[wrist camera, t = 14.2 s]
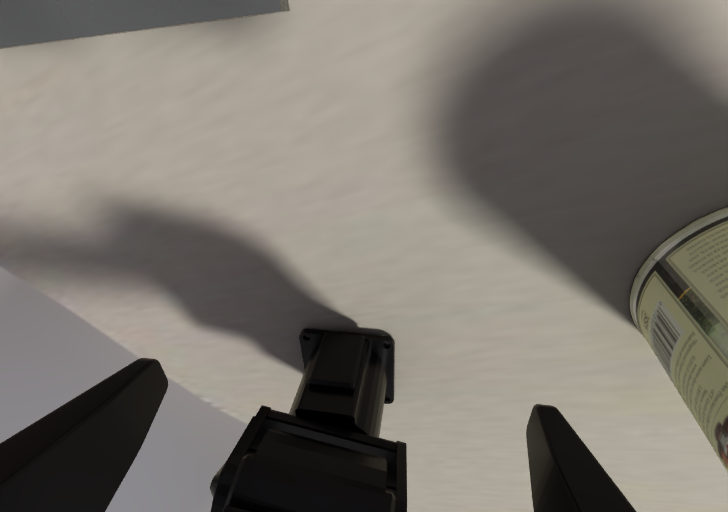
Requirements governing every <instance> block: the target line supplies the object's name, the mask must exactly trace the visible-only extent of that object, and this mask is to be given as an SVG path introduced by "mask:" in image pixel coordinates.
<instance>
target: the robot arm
mask: <svg viewBox="0 0 728 512" xmlns="http://www.w3.org/2000/svg"><path fill="white" fill-rule="evenodd" d="M307 336H309V337H307ZM299 338H300V344H301V349H302V355H303V361H304V367H305V372H304V375H303V377H302V380H301V383H300V385H299V388H298V391H297V393H296V396H295V399H294V401H293V404H292V407H291V409H290V412H289V414H287V413H283V412H279V411H275V410H271V408H270V407H266V406H263V405H262V406H261V408H260V409H259V411H258V413H257V415H256V416H253V418H252V419H251V421H250V423H249V424H248V426H247V428H246V429H245V431H244V433H243V434H242V436H241V438H240V440H239V441H238V443H237V445H236V446H235V448H234V450H233V451H232V453H231V455H230V456H229V458H228V460H227V461H226V463H225V464H224V465H223V466H222V467H221V469H220V470H219V471H218V472H217V474H216V475H215V476H214V478H213V480H212V482H211V486H210V490H211V493H212V495H213V502H212V508H211V512H407V462H406V443H403V442H400V441H397V442H393V441H389V440H386V439H382V438H379V434H380V427H381V420H382V413H383V407H384V403H385V404H390V403H392V402H393V401H394V363H395V342H394V340H393V338H391V337H388V336H378V335H368V334H357V333H346V332H336V331H325V330H315V329H303V330H302V331H301V333H300V337H299ZM385 343H387V344H388V345H387V344H385ZM167 387H168V380H167V377H166V375H165V373H164V371H163V369H162V367H161V365H160V363H159V361H158V360H156V359H149V358H140V359H138V360H136V361H134V362H133V363H131V364H130V365H128V366H126V367H125V368H123V369H121V370H120V371H118V372H116V373H115V374H113V375H112V376H110V377H108V378H107V379H105V380H103V381H102V382H100V383H99V384H97V385H95V386H94V387H92V388H90V389H89V390H87V391H85V392H84V393H82V394H81V395H79V396H77V397H76V398H74V399H72V400H71V401H69V402H67V403H66V404H64V405H63V406H61V407H59V408H58V409H56V410H54V411H53V412H51V413H49V414H48V415H46V416H45V417H43V418H41V419H40V420H38V421H36V422H35V423H33V424H31V425H30V426H28V427H27V428H25V429H24V430H22V431H20V432H18V433H17V434H15V435H13V436H12V437H11V438H9V439H7V440H5V441H4V442H2V443H0V512H105V511H106V509H107V507H108V505H109V504H110V502H111V500H112V498H113V496H114V494H115V492H116V491H117V489H118V488H119V486H120V484H121V482H122V480H123V479H124V477H125V475H126V473H127V472H128V470H129V468H130V466H131V465H132V463H133V461H134V459H135V457H136V456H137V453H138V452H139V450H140V448H141V446H142V444H143V442H144V439H145V438H146V435H147V433H148V431H149V428H150V426H151V424H152V422H153V420H154V417H155V415H156V413H157V411H158V408H159V406H160V404H161V402H162V400H163V397H164V395H165V393H166V390H167ZM526 437H527V448H528V458H529V468H530V478H531V489H532V499H533V508H534V512H636V511H635V509H634V508H633V507H632V505H631V504H630V503H629V501H628V500H627V499H626V498H625V496H624V495H623V494H622V492H621V491H620V490H619V488H618V487H617V486H616V484H615V483H614V482H613V481H612V479H611V478H610V477H609V475H608V474H607V473H606V471H605V470H604V469H603V468H602V466H601V465H600V464H599V462H598V461H597V460H596V458H595V457H594V456H593V455H592V453H591V452H590V451H589V449H588V448H587V447H586V445H585V444H584V443H583V441H582V440H581V439H580V438H579V436H578V435H577V434H576V432H575V431H574V430H573V428H572V427H571V426H570V425H569V423H568V422H567V421H566V419H565V418H564V417H563V415H562V414H561V413H560V412H559V410H558V409H557V408H556V407H554V406H550V405H541V404H536V405H535V406H534V407H533V409H532V412H531V416H530V419H529V422H528V425H527V431H526Z"/></svg>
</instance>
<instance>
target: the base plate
mask: <svg viewBox="0 0 728 512" xmlns="http://www.w3.org/2000/svg"><path fill="white" fill-rule="evenodd" d="M285 11H290V10H289V4H288V0H0V49H2V48H10V47H17V46H25V45H33V44H40V43H48V42H56V41H63V40H71V39H79V38H86V37H94V36H102V35H109V34H117V33H124V32H132V31H140V30H147V29H155V28H163V27H170V26H178V25H186V24H193V23H201V22H209V21H216V20H224V19H232V18H239V17H247V16H255V15H262V14H270V13H278V12H285Z"/></svg>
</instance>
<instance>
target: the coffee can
mask: <svg viewBox="0 0 728 512" xmlns="http://www.w3.org/2000/svg"><path fill="white" fill-rule="evenodd" d="M630 310H631V315H632V318H633V321H634V323H635V325H636V327H637V328H638V330H639V331H640V333H641V334H642V335H643V336H644V337H645V339H646V340H647V342H648V343H649V345H650V347H651V348H652V350H653V351H654V353H655V355H656V356H657V358H658V359H659V361H660V363H661V364H662V366H663V368H664V369H665V371H666V372H667V374H668V376H669V377H670V379H671V381H672V382H673V384H674V386H675V387H676V389H677V390H678V392H679V394H680V395H681V397H682V399H683V400H684V402H685V403H686V405H687V407H688V408H689V410H690V411H691V413H692V415H693V416H694V418H695V419H696V421H697V423H698V424H699V426H700V427H701V429H702V431H703V432H704V434H705V436H706V437H707V439H708V440H709V442H710V444H711V445H712V447H713V449H714V450H715V452H716V454H717V455H718V457H719V458H720V460H721V462H722V463H723V465H724V467H725V468H726V470H727V471H728V207H726V208H723V209H721V210H718V211H715V212H713V213H711V214H709V215H707V216H704V217H702V218H700V219H698V220H696V221H694V222H693V223H691V224H690V225H688V226H687V227H685V228H683V229H682V230H680V231H679V232H677V233H675V234H674V235H673V236H672V237H671V238H669V239H668V240H666V241H665V242H664V243H662V244H661V245H660V246H659V247H658V248H657V249H656V250H655V251H654V252H653V253H652V254H651V255H650V256H649V258H648V259H647V260H646V261H645V263H644V264H643V265H642V267H641V269H640V270H639V272H638V274H637V275H636V276H635V280H634V283H633V286H632V290H631V294H630Z"/></svg>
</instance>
